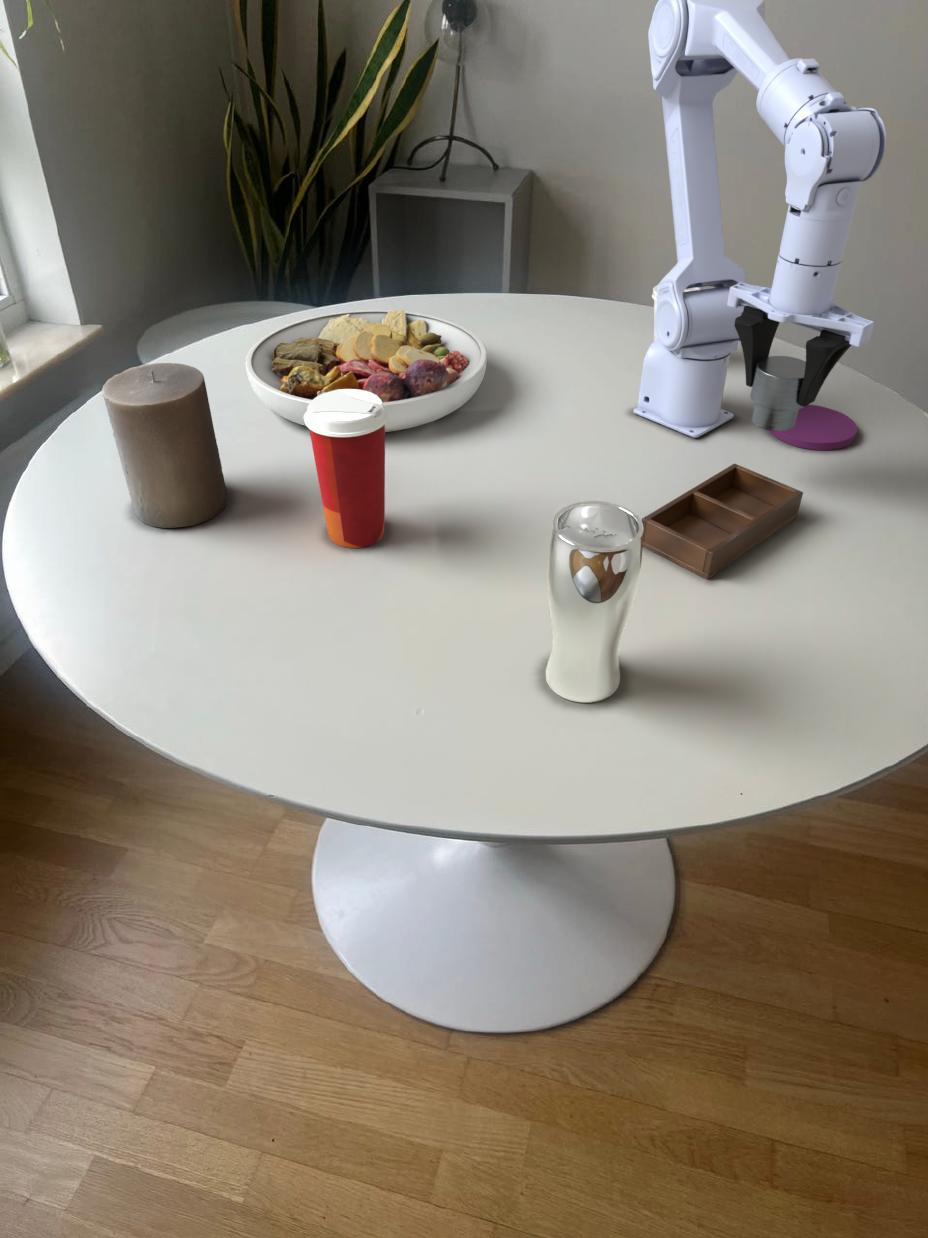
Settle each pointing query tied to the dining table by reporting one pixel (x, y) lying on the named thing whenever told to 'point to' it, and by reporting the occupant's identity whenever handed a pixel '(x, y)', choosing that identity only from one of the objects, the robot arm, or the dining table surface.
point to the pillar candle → (166, 444)
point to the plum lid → (819, 429)
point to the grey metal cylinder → (777, 392)
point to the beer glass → (591, 596)
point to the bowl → (369, 364)
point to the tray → (720, 520)
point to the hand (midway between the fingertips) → (779, 392)
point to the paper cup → (350, 463)
